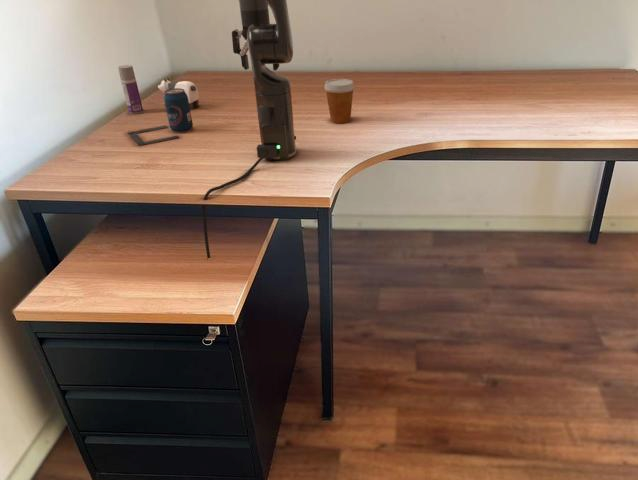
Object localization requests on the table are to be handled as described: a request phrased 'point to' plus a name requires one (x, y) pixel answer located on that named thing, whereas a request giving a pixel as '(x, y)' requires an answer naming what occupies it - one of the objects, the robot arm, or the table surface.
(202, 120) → the table surface
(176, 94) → the soda can
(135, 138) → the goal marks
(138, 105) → the container
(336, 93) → the disposable coffee cup
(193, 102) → the giant panda
